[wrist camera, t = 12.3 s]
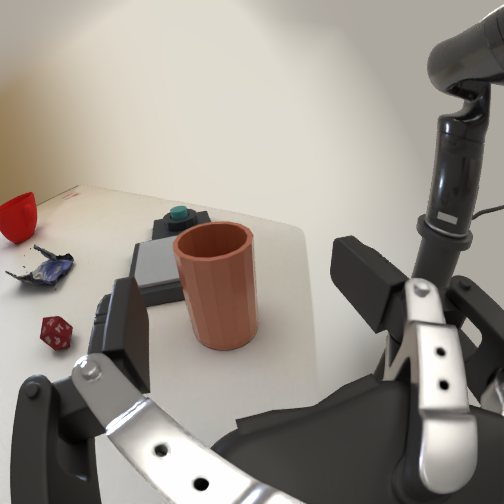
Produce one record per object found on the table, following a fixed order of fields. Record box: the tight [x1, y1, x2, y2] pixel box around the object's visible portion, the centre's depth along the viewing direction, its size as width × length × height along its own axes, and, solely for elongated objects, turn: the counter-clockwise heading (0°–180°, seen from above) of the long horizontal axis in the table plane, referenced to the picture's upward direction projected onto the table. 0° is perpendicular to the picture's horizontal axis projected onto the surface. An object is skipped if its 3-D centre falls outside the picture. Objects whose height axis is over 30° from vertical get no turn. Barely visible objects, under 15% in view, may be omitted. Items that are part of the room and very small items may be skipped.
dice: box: [40, 316, 73, 351], centre depth 23 cm, size 4×4×4 cm
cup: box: [173, 222, 258, 350], centre depth 25 cm, size 6×6×10 cm
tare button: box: [170, 206, 188, 220], centre depth 45 cm, size 3×3×2 cm
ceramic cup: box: [0, 192, 37, 244], centre depth 49 cm, size 13×17×10 cm
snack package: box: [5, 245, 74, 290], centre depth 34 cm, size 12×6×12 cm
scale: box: [129, 236, 185, 307], centre depth 36 cm, size 13×13×2 cm
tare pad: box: [152, 209, 211, 240], centre depth 46 cm, size 10×8×3 cm
